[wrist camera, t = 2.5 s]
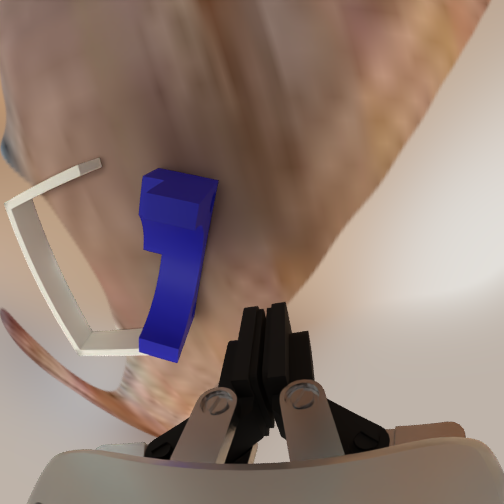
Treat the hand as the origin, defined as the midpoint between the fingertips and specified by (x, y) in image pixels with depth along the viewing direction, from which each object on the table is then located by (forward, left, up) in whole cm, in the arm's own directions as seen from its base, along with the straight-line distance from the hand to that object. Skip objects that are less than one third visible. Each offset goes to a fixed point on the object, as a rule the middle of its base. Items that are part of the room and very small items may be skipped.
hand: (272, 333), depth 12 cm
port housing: (-1, -16, -11) cm, 19 cm away
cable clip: (0, -8, -11) cm, 14 cm away
